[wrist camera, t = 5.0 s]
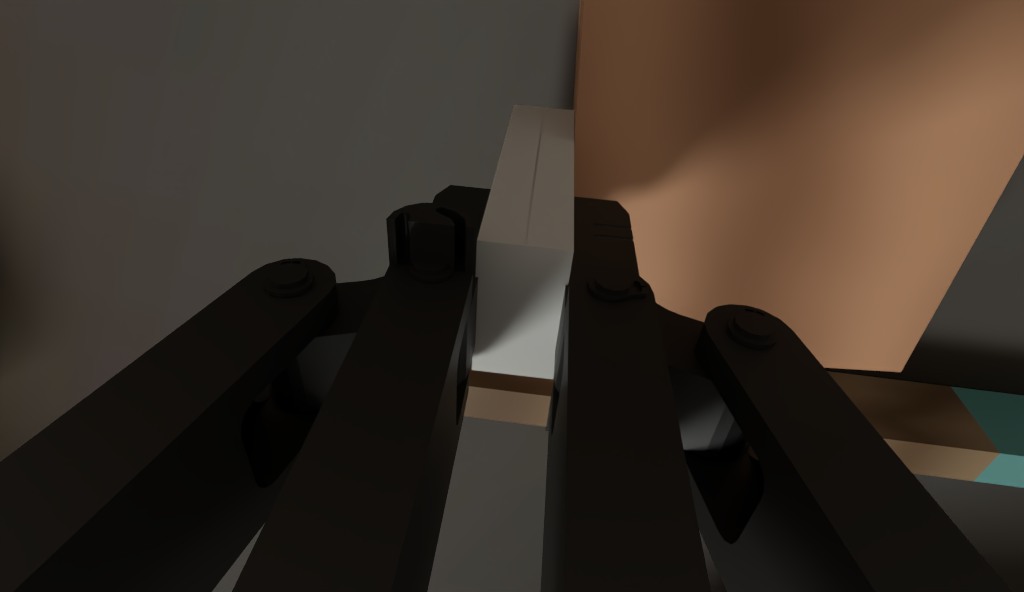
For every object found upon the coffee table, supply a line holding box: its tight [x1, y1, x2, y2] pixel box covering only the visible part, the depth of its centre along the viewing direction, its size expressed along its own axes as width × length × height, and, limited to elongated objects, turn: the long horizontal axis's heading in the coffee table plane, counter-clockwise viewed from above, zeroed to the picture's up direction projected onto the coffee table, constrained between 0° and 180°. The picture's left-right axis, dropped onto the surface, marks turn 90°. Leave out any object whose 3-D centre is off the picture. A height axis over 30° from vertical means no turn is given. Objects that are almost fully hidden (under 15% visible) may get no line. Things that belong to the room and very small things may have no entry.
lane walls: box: [464, 361, 1000, 481], centre depth 15 cm, size 18×19×3 cm
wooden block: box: [573, 0, 1024, 372], centre depth 14 cm, size 9×9×4 cm
